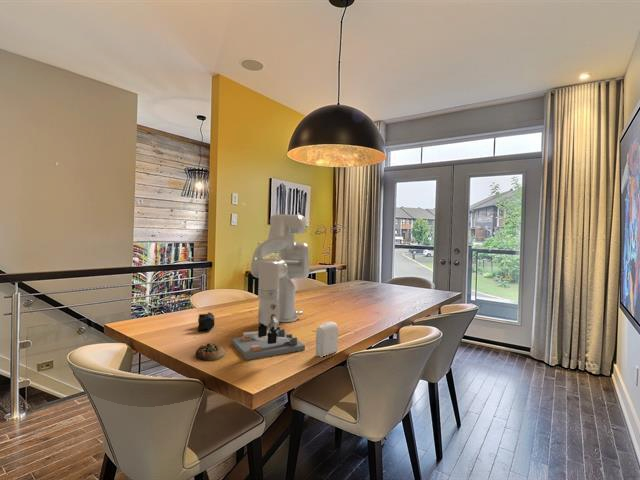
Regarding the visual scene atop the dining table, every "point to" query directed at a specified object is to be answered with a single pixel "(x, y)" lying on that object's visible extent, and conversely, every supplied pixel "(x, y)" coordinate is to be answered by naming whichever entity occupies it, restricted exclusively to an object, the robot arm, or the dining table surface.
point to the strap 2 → (282, 339)
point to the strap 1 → (255, 333)
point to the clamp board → (266, 346)
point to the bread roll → (209, 352)
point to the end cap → (205, 322)
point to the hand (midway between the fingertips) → (266, 339)
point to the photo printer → (326, 339)
